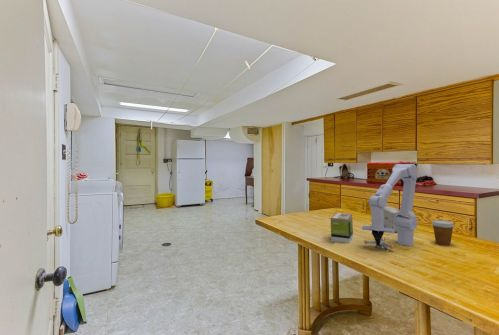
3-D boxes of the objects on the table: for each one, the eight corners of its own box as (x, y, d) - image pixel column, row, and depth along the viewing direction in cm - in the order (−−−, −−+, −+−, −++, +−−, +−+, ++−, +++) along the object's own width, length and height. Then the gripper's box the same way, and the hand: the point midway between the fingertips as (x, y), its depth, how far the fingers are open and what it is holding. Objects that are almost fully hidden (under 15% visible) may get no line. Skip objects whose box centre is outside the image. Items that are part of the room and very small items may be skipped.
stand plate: (370, 243, 137) (370, 240, 137) (393, 246, 131) (393, 243, 131) (366, 251, 125) (366, 247, 125) (391, 255, 119) (391, 251, 119)
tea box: (336, 235, 153) (335, 212, 152) (353, 237, 147) (353, 213, 147) (330, 242, 140) (330, 217, 139) (349, 245, 135) (349, 218, 134)
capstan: (363, 245, 130) (363, 238, 130) (383, 242, 135) (382, 235, 135) (382, 253, 118) (382, 246, 118) (403, 249, 123) (403, 242, 123)
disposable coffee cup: (448, 241, 137) (448, 220, 136) (458, 247, 128) (458, 224, 127) (429, 240, 139) (428, 219, 139) (436, 246, 130) (436, 223, 130)
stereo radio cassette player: (406, 233, 154) (406, 201, 153) (392, 233, 155) (392, 201, 155) (392, 224, 174) (392, 196, 174) (380, 224, 176) (379, 196, 175)
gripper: (360, 219, 125) (361, 245, 126) (393, 222, 117) (394, 250, 118) (363, 216, 131) (363, 241, 132) (394, 219, 123) (394, 245, 124)
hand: (378, 245), depth 125 cm, fingers closed
